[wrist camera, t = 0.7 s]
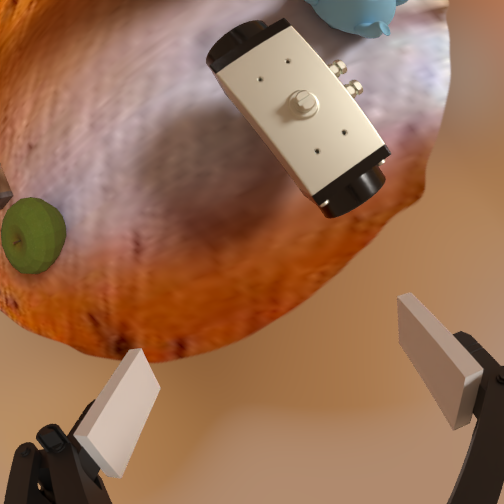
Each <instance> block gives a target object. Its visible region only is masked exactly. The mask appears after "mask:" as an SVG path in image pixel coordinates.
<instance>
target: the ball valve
mask: <svg viewBox="0 0 504 504" xmlns="http://www.w3.org/2000/svg"><path fill="white" fill-rule="evenodd" d="M206 64H207V65H208V67H209V68H210V69H211V71H212V73H213V74H214V76H215V78H216V79H217V81H218V83H219V84H220V86H221V88H222V89H223V91H224V93H225V94H226V95H227V97H228V98H229V99H230V100H231V101H232V103H233V104H234V105H235V106H236V107H237V109H238V110H239V111H240V112H241V114H242V115H243V116H244V117H245V118H246V120H247V121H248V122H249V123H250V125H251V126H252V127H253V128H254V130H255V131H256V132H257V134H258V135H259V136H260V137H261V139H262V140H263V141H264V142H265V144H266V145H267V146H268V148H269V149H270V150H271V152H272V153H273V154H274V155H275V157H276V158H277V159H278V161H279V162H280V163H281V165H282V166H283V167H284V169H285V170H286V171H287V173H288V174H289V175H290V177H291V178H292V180H293V181H294V182H295V184H296V185H297V186H298V188H299V189H300V191H301V192H302V193H303V195H304V196H305V197H307V198H308V199H309V200H311V201H312V202H313V203H315V204H316V205H317V206H318V207H319V208H320V210H321V211H322V213H323V214H324V216H325V217H326V218H335V217H338V216H341V215H343V214H346V213H348V212H350V211H351V210H353V209H355V208H357V207H358V206H360V205H361V204H363V203H364V202H366V201H367V200H368V199H370V198H371V197H372V196H373V195H374V194H376V193H377V192H378V191H379V190H380V189H381V187H382V186H383V185H384V183H385V180H386V179H385V176H384V175H383V173H382V171H381V170H380V168H379V167H378V166H380V165H382V164H384V163H385V158H387V157H388V156H389V155H391V152H390V151H389V149H388V148H387V146H386V145H385V143H384V142H383V140H382V138H381V137H380V135H379V134H378V132H377V131H376V129H375V128H374V127H373V125H372V124H371V122H370V121H369V119H368V118H367V116H366V115H365V114H364V112H363V111H362V110H361V108H360V107H359V105H358V104H357V103H356V101H355V100H354V98H355V97H356V94H358V95H360V94H361V93H362V92H363V88H362V86H361V84H360V83H359V82H358V81H357V80H352V81H350V82H349V84H345V85H344V86H343V84H342V83H341V82H340V80H339V79H338V77H339V76H340V74H344V73H346V72H347V67H346V66H345V64H344V63H343V62H342V61H341V60H335V61H334V62H333V64H329V65H326V63H325V62H324V61H323V60H322V59H321V57H320V56H319V55H318V54H317V53H316V52H315V51H314V49H313V48H312V47H311V46H310V45H309V44H308V43H307V42H306V41H305V39H304V38H303V37H302V36H301V35H300V34H299V33H298V32H297V31H296V30H295V29H294V28H293V27H292V26H291V25H290V24H289V23H288V21H287V20H286V19H285V18H283V19H281V20H279V21H277V22H276V23H274V24H272V25H270V26H269V27H268V26H267V25H266V24H265V23H264V22H263V21H260V20H254V21H249V22H246V23H243V24H241V25H239V26H237V27H235V28H234V29H232V30H230V31H229V32H228V33H226V34H225V35H224V36H223V37H221V38H220V39H219V40H218V41H217V42H216V43H215V44H214V46H213V47H212V48H211V50H210V51H209V53H208V55H207V58H206Z"/></svg>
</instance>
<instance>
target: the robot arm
mask: <svg viewBox="0 0 504 504" xmlns="http://www.w3.org/2000/svg"><path fill="white" fill-rule="evenodd" d="M397 305H398V325H399V344H400V345H401V347H402V348H403V350H404V351H405V353H406V354H407V356H408V357H409V359H410V360H411V362H412V363H413V365H414V367H415V368H416V370H417V372H418V373H419V375H420V376H421V378H422V379H423V381H424V383H425V384H426V386H427V388H428V389H429V391H430V392H431V394H432V396H433V397H434V399H435V401H436V402H437V404H438V406H439V407H440V409H441V411H442V412H443V414H444V416H445V417H446V419H447V421H448V423H449V424H450V426H451V428H452V430H456V429H458V428H460V427H463V426H465V425H467V424H469V423H470V421H471V418H472V414H474V415H475V417H476V418H477V423H476V426H475V429H474V432H473V435H472V439H471V443H470V446H469V449H468V452H467V455H466V458H465V460H464V463H463V466H462V469H461V472H460V474H459V476H458V479H457V482H456V484H455V486H454V489H453V492H452V494H451V496H450V498H449V500H448V502H447V504H497V502H498V499H499V496H500V493H501V489H502V486H503V482H504V366H500V365H499V364H498V363H497V361H495V359H493V357H492V356H491V355H490V354H489V353H488V352H487V351H486V350H485V349H484V348H482V346H481V345H480V344H479V343H477V341H476V340H475V339H474V338H473V337H472V336H471V335H469V334H467V333H464V332H462V331H460V332H458V333H455V334H453V335H452V334H451V333H450V332H449V331H448V330H447V329H446V328H445V326H444V325H443V324H442V323H441V322H440V321H439V320H438V319H437V318H436V317H435V316H434V315H433V314H432V313H431V312H430V311H429V310H428V309H427V308H426V307H425V306H424V305H423V304H422V303H421V302H420V301H419V300H418V299H417V298H416V297H415V296H414V295H413V294H412V293H407V294H403V295H400V296H397ZM159 391H160V386H159V384H158V382H157V380H156V378H155V376H154V374H153V372H152V370H151V368H150V366H149V364H148V361H147V359H146V357H145V355H144V353H143V351H142V348H139V349H131V350H129V351H128V353H127V354H126V356H125V357H124V358H123V360H122V361H121V363H120V364H119V366H118V367H117V369H116V370H115V372H114V373H113V375H112V376H111V378H110V379H109V381H108V382H107V384H106V385H105V387H104V388H103V390H102V391H101V393H100V394H99V396H98V397H97V399H95V400H93V401H92V402H91V403H90V404H89V405H87V407H86V408H85V410H84V411H83V414H81V416H80V417H79V420H77V422H76V423H75V425H74V426H73V428H72V429H71V431H70V432H69V434H68V436H66V435H65V434H64V432H63V431H62V430H61V428H60V427H59V426H58V425H57V424H49V425H46V426H45V427H43V428H42V429H40V430H39V432H38V433H37V435H36V439H37V441H38V442H39V443H40V444H41V446H42V447H43V448H44V449H43V450H38V449H37V448H36V446H35V445H34V444H33V443H31V442H26V443H24V444H21V445H20V446H19V447H18V448H17V449H16V451H15V454H14V458H13V462H12V466H11V471H10V475H9V480H8V485H7V490H6V495H5V501H4V504H112V502H111V500H110V498H109V495H108V493H107V491H106V488H105V486H104V483H103V481H102V479H101V477H100V476H99V475H98V472H99V470H100V469H101V470H102V471H103V472H104V473H105V474H106V475H107V476H108V477H115V478H122V476H123V473H124V471H125V469H126V466H127V464H128V462H129V459H130V457H131V454H132V452H133V450H134V447H135V445H136V443H137V441H138V438H139V436H140V433H141V431H142V429H143V426H144V424H145V422H146V420H147V418H148V415H149V413H150V411H151V409H152V406H153V404H154V402H155V399H156V397H157V395H158V393H159ZM37 483H39V484H40V486H41V489H40V490H39V489H38V484H37Z"/></svg>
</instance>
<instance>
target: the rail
mask: <svg viewBox="0 0 504 504" xmlns="http://www.w3.org/2000/svg"><path fill="white" fill-rule="evenodd" d="M12 197H13V194H12V191H11V189H10V187H9V184H8V182H7V179H6V177H5V174H4V172H3V169H2V167H1V164H0V209H3V207H4V206H5V205H6V204H7V203H8V201H9V200H10V199H11V198H12Z"/></svg>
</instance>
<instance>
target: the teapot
mask: <svg viewBox="0 0 504 504" xmlns="http://www.w3.org/2000/svg"><path fill="white" fill-rule="evenodd" d="M304 1H306V2H307V3H309V4H311V6H312V7H313V9H314V11H315V12H316V13H317V15H318V16H319V17H320V18H321V19H323V20H324V21H325V22H326V23H328V25H329V26H330V27H331V28H334V29H339V30H341V31H344V32H347V33H351V34H357V35H360V36H362V37H364V38H377V37H379V36H381V34H382V33H384V34H385V35H387V36H389V35H390V29H389V27H388V25H389V24H390V22H391V21H392V19H393V16H394V14H395V10H396V6H398V5H401V4H404V3H405V2H407V1H408V0H304Z"/></svg>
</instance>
